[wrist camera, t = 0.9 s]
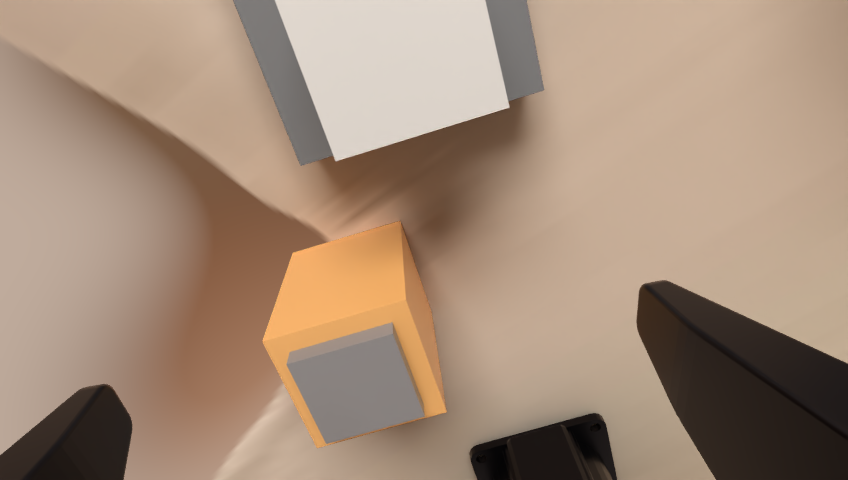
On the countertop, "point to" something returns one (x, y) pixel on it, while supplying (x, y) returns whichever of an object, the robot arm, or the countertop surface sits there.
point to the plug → (356, 337)
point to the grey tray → (388, 67)
